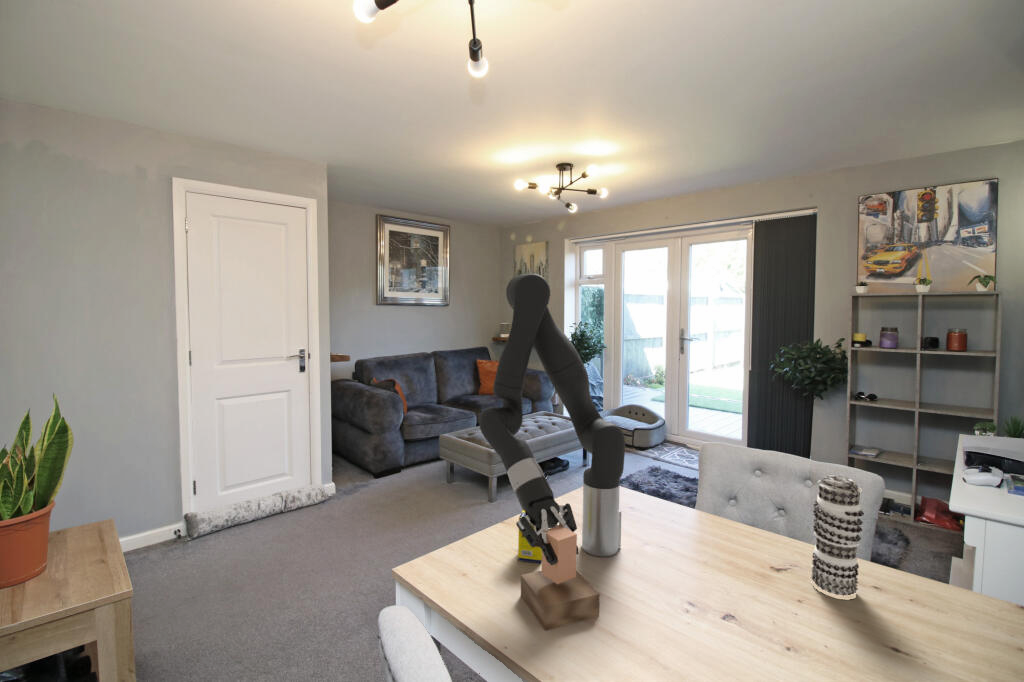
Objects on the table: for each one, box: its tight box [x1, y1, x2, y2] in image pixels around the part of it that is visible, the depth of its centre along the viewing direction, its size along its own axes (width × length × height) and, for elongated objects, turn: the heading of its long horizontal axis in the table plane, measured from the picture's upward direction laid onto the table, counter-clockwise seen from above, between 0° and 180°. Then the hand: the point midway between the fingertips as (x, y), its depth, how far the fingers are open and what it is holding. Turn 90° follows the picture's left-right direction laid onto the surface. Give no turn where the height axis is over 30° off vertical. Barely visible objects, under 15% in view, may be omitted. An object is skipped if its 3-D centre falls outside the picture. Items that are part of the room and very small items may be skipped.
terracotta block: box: [541, 526, 578, 585], centre depth 99 cm, size 5×5×9 cm
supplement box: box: [517, 509, 542, 564], centre depth 119 cm, size 6×6×11 cm
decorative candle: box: [810, 475, 865, 596], centre depth 106 cm, size 9×9×25 cm
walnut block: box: [520, 569, 601, 631], centre depth 99 cm, size 12×12×5 cm
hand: (565, 559), depth 97 cm, fingers closed on terracotta block, 5 cm apart
